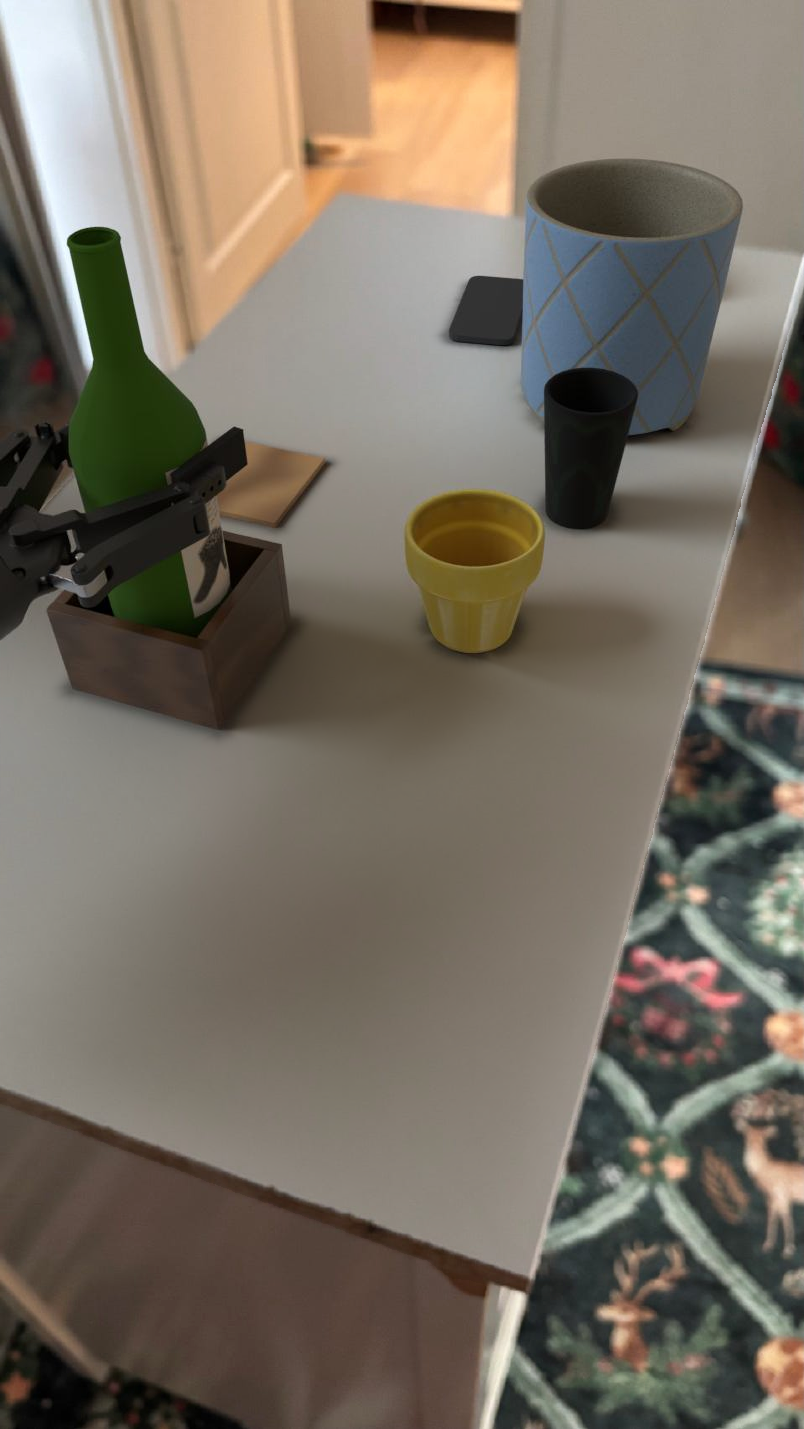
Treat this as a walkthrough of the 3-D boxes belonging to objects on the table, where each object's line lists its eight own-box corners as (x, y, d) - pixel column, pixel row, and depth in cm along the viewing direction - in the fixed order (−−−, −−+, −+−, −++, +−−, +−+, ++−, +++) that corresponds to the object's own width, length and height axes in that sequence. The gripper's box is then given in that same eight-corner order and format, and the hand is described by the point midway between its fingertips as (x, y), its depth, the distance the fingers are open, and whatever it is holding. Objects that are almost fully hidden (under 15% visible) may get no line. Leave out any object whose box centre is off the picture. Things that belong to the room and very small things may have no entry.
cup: (618, 540, 94) (637, 417, 85) (530, 533, 95) (541, 411, 86) (620, 490, 99) (638, 369, 91) (537, 483, 100) (547, 364, 92)
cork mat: (167, 503, 99) (166, 498, 99) (223, 442, 106) (222, 437, 106) (275, 528, 96) (275, 522, 96) (325, 463, 103) (325, 457, 103)
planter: (522, 452, 104) (537, 243, 90) (506, 355, 117) (517, 160, 103) (720, 447, 104) (767, 238, 89) (681, 351, 117) (717, 155, 103)
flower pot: (441, 571, 91) (442, 473, 84) (555, 606, 88) (566, 507, 81) (383, 645, 85) (379, 545, 78) (503, 686, 82) (511, 586, 75)
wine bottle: (219, 703, 81) (134, 276, 57) (108, 685, 82) (-18, 262, 59) (257, 626, 87) (195, 211, 63) (153, 611, 88) (55, 200, 65)
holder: (71, 689, 82) (45, 609, 77) (155, 589, 90) (136, 510, 85) (218, 730, 79) (202, 650, 73) (291, 623, 87) (282, 543, 81)
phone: (446, 334, 119) (470, 274, 129) (446, 341, 119) (470, 281, 129) (513, 340, 118) (532, 279, 128) (512, 347, 118) (531, 286, 128)
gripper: (-169, 596, 68) (82, 431, 81) (85, 725, 60) (318, 518, 73) (-220, 497, 63) (58, 336, 76) (51, 624, 54) (309, 420, 68)
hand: (185, 426), depth 74 cm, fingers closed on wine bottle, 9 cm apart
